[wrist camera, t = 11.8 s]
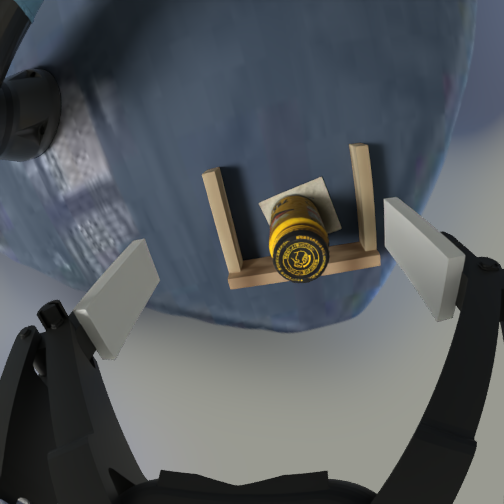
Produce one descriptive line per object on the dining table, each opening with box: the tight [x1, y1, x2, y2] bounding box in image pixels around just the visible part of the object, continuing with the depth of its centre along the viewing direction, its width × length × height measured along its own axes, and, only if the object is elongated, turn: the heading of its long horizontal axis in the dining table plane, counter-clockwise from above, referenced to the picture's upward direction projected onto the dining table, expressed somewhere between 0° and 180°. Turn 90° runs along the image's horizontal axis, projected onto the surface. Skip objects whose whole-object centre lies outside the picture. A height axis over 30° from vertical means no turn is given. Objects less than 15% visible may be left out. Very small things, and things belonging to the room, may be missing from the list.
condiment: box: [259, 177, 342, 283], centre depth 31 cm, size 7×8×12 cm
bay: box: [202, 143, 380, 289], centre depth 34 cm, size 19×14×4 cm
